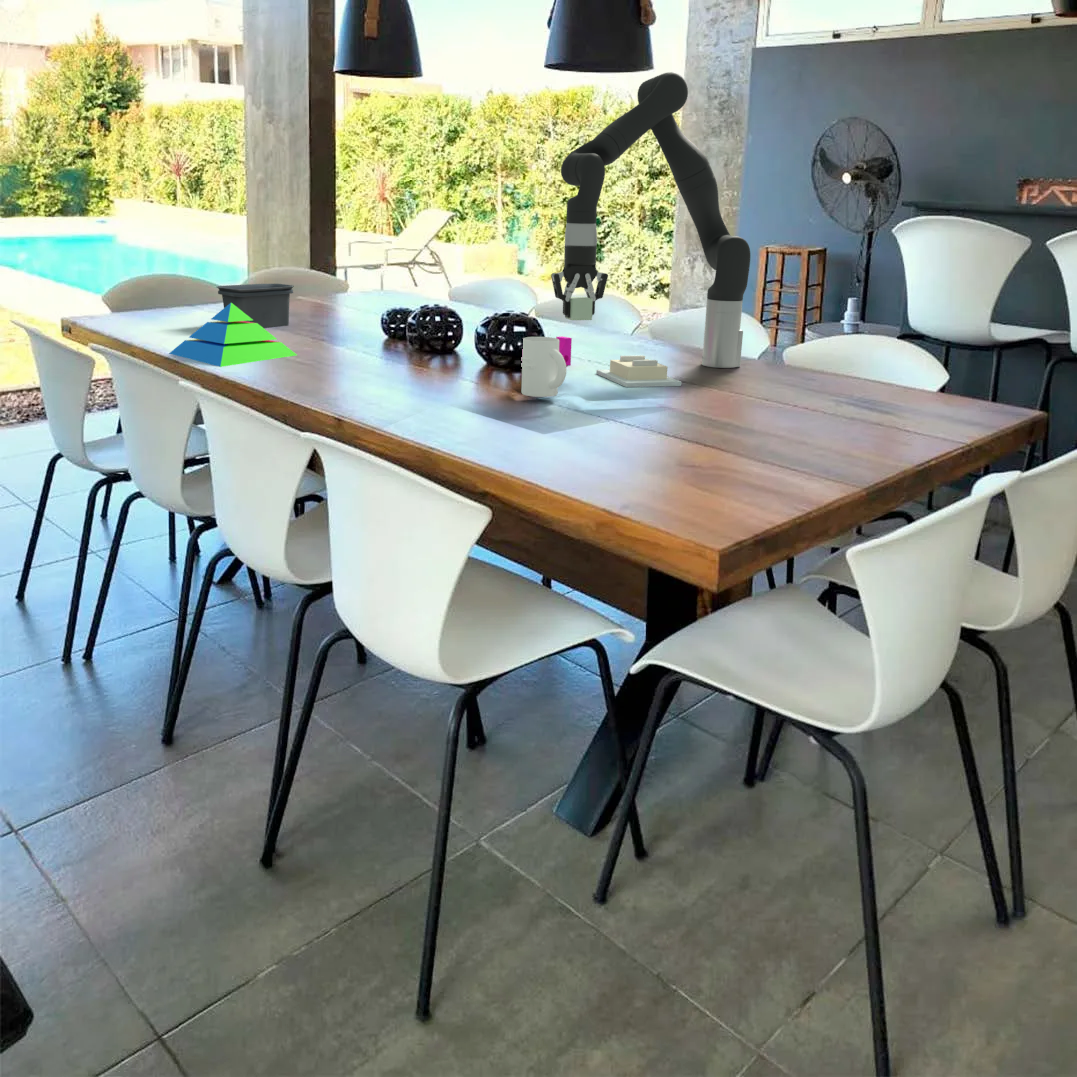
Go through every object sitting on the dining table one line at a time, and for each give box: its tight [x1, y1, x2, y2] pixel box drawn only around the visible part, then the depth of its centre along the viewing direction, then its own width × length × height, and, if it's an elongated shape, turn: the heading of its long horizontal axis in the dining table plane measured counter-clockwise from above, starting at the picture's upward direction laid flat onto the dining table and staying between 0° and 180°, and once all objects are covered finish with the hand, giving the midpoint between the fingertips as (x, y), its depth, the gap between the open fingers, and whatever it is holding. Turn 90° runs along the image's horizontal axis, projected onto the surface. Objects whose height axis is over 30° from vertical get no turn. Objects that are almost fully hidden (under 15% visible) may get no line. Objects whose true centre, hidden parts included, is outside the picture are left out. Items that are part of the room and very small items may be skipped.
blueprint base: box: [595, 354, 682, 388], centre depth 251 cm, size 14×20×5 cm
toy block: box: [555, 335, 573, 367], centre depth 265 cm, size 15×6×8 cm, turn 131°
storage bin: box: [216, 283, 294, 329], centre depth 314 cm, size 21×16×14 cm
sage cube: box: [564, 296, 593, 321], centre depth 248 cm, size 5×5×5 cm
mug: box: [521, 336, 567, 398], centre depth 225 cm, size 8×12×12 cm
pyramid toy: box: [169, 303, 298, 368], centre depth 268 cm, size 25×25×14 cm
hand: (578, 316), depth 249 cm, fingers closed on sage cube, 5 cm apart
